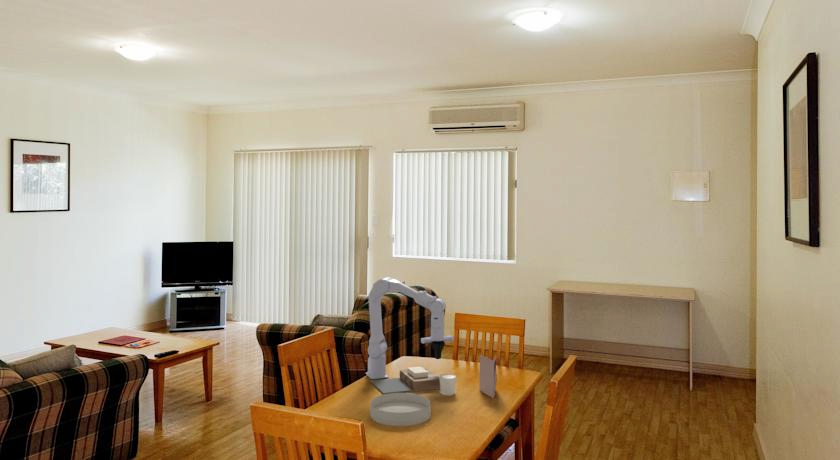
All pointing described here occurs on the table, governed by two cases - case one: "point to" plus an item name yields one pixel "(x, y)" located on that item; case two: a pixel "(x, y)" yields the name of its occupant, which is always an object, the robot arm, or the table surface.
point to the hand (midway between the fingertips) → (437, 358)
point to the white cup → (447, 384)
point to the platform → (420, 380)
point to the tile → (417, 372)
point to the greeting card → (488, 376)
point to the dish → (400, 409)
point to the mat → (391, 386)
